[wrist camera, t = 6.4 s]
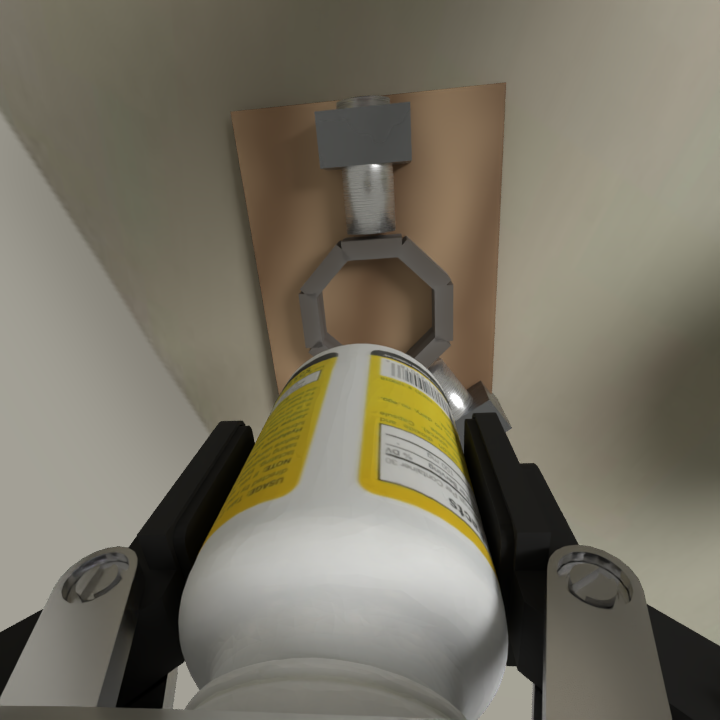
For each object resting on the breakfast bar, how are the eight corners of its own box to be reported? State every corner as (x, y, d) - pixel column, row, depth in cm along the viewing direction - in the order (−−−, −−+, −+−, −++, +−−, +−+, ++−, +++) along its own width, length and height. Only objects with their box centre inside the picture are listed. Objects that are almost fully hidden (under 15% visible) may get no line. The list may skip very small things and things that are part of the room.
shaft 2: (395, 376, 28) (395, 401, 25) (449, 337, 27) (457, 359, 23) (447, 437, 29) (453, 468, 26) (500, 403, 28) (515, 432, 25)
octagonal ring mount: (501, 87, 21) (517, 71, 19) (485, 448, 30) (495, 475, 27) (237, 114, 23) (215, 104, 20) (293, 453, 31) (283, 479, 28)
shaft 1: (410, 224, 24) (414, 230, 21) (336, 230, 25) (327, 237, 21) (407, 105, 22) (410, 91, 19) (324, 114, 22) (313, 101, 19)
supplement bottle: (289, 487, 14) (116, 991, 5) (270, 339, 12) (-60, 755, 3) (447, 490, 14) (548, 1042, 5) (456, 337, 12) (658, 810, 3)
